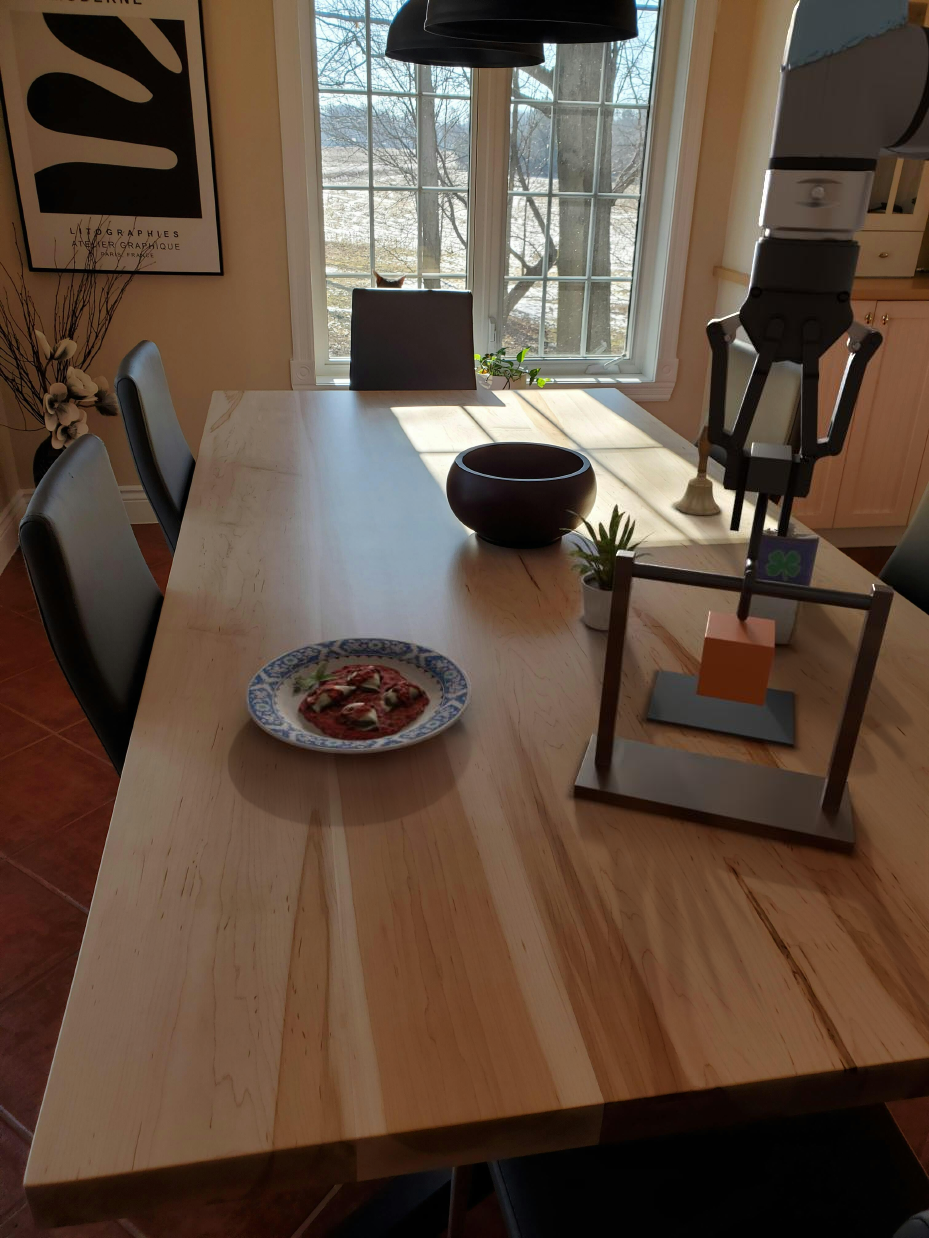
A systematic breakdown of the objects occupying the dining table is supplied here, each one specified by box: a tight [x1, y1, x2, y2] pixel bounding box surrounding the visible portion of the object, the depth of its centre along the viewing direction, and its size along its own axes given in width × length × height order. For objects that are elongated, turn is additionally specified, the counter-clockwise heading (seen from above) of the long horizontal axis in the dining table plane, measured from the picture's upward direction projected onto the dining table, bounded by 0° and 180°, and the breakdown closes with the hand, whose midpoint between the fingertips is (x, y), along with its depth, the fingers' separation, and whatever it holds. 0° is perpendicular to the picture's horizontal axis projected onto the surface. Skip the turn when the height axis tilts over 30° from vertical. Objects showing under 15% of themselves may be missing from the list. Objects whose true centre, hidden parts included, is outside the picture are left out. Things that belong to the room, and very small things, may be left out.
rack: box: [573, 550, 895, 856], centre depth 85 cm, size 26×10×24 cm, turn 72°
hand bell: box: [674, 424, 721, 516], centre depth 168 cm, size 8×8×16 cm
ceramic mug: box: [735, 593, 804, 645], centre depth 122 cm, size 11×8×8 cm
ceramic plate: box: [245, 636, 473, 755], centre depth 104 cm, size 26×26×3 cm
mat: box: [646, 669, 795, 748], centre depth 106 cm, size 16×12×1 cm
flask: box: [756, 521, 820, 586], centre depth 135 cm, size 9×3×11 cm, turn 80°
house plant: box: [560, 503, 655, 631], centre depth 123 cm, size 14×14×16 cm
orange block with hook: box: [696, 441, 793, 706], centre depth 80 cm, size 6×6×22 cm
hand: (758, 528), depth 78 cm, fingers closed on orange block with hook, 3 cm apart
